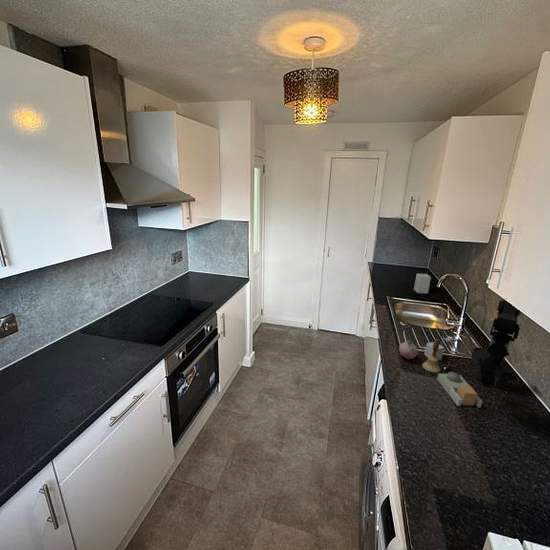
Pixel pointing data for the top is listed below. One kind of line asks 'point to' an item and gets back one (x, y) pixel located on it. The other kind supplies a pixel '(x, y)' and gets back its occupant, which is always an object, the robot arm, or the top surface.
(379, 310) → the top surface
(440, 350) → the product box
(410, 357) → the decorative fruit
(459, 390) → the cardboard shipping carton
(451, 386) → the two-pronged gray clamp
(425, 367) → the hand bell
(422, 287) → the supplement box
